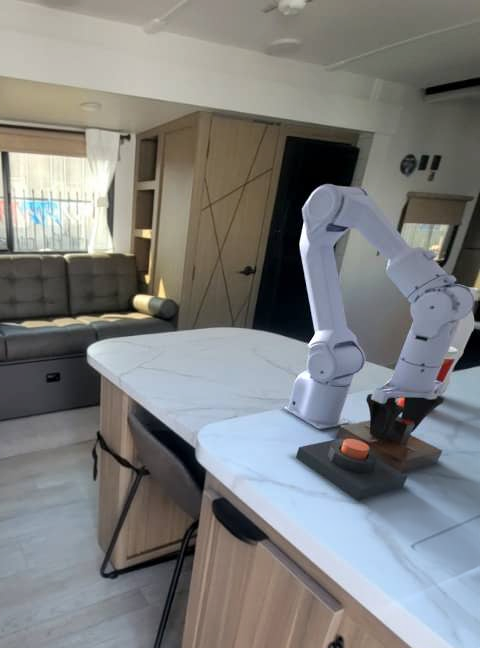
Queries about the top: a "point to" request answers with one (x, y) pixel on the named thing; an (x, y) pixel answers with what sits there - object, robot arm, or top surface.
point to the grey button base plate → (351, 469)
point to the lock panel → (392, 448)
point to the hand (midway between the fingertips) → (391, 432)
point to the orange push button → (355, 448)
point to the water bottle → (460, 339)
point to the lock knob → (400, 431)
